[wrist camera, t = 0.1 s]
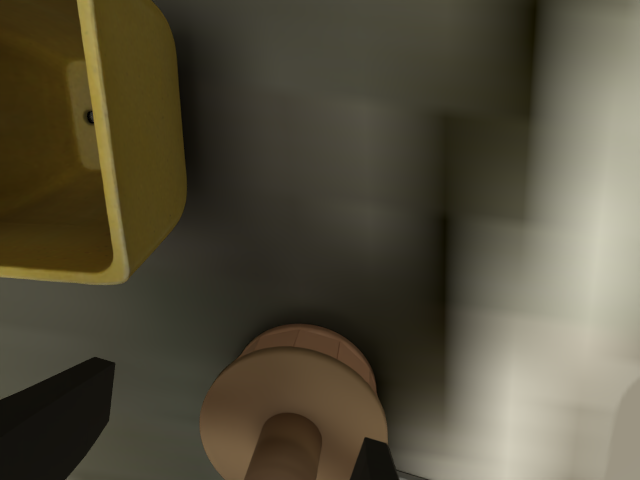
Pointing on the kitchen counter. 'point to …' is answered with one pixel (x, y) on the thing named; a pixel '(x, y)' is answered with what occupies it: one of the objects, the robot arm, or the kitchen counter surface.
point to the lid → (289, 417)
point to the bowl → (315, 346)
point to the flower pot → (87, 138)
